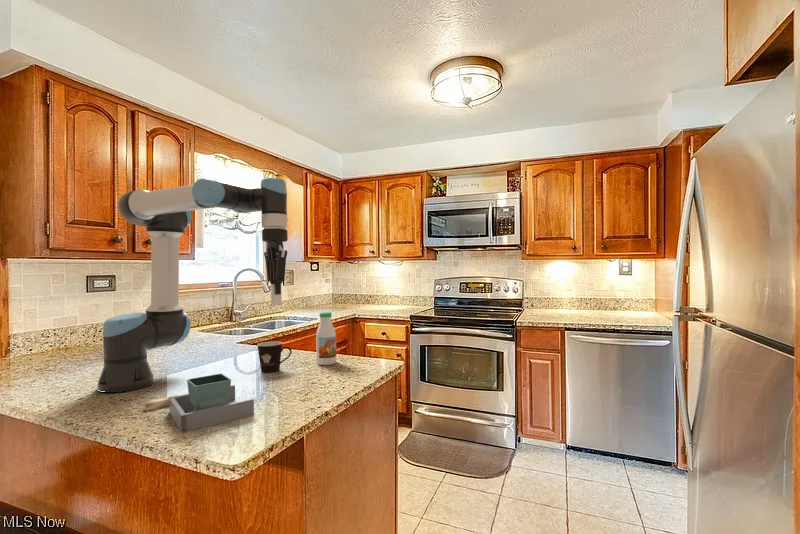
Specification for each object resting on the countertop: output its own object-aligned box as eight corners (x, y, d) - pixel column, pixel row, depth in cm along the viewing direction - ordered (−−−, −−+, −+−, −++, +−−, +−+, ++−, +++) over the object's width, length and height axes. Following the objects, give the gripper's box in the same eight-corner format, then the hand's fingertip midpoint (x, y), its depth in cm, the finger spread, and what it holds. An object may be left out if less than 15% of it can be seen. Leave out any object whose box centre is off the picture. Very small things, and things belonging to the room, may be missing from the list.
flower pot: (222, 404, 109) (221, 372, 109) (232, 413, 103) (231, 379, 103) (187, 413, 104) (186, 379, 104) (195, 422, 97) (195, 386, 97)
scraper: (147, 414, 104) (147, 406, 104) (143, 406, 110) (143, 399, 110) (208, 401, 114) (208, 394, 114) (202, 394, 120) (202, 387, 120)
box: (234, 398, 115) (233, 384, 115) (253, 414, 101) (253, 399, 101) (169, 412, 104) (169, 397, 104) (181, 432, 91) (181, 415, 91)
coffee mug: (252, 372, 143) (252, 345, 143) (270, 366, 151) (270, 340, 151) (276, 376, 138) (275, 347, 138) (293, 370, 145) (293, 343, 145)
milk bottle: (312, 365, 152) (311, 313, 152) (323, 360, 159) (322, 311, 159) (329, 366, 149) (328, 313, 149) (340, 361, 157) (339, 311, 157)
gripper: (295, 227, 119) (296, 305, 119) (278, 231, 129) (280, 302, 129) (270, 226, 114) (272, 307, 114) (255, 230, 124) (257, 304, 124)
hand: (276, 304), depth 122 cm, fingers closed
